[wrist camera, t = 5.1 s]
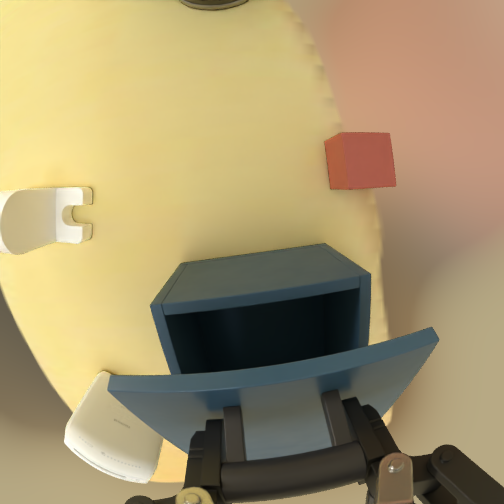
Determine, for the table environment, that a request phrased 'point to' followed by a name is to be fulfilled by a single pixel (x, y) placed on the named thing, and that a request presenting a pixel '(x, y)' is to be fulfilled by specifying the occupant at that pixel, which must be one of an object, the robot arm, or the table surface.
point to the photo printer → (112, 435)
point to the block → (360, 161)
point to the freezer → (262, 309)
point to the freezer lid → (280, 414)
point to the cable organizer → (41, 218)
